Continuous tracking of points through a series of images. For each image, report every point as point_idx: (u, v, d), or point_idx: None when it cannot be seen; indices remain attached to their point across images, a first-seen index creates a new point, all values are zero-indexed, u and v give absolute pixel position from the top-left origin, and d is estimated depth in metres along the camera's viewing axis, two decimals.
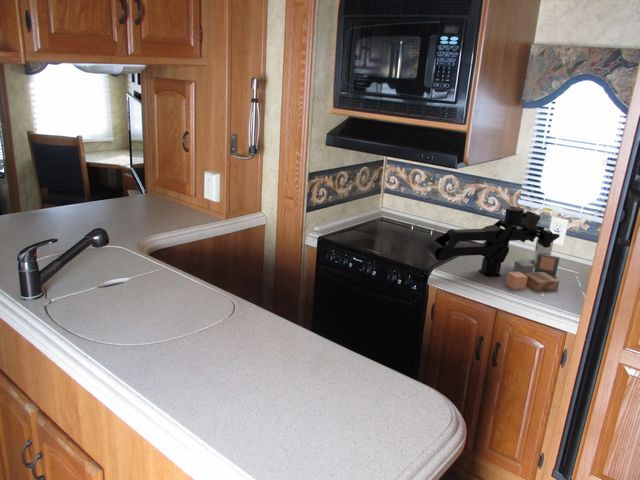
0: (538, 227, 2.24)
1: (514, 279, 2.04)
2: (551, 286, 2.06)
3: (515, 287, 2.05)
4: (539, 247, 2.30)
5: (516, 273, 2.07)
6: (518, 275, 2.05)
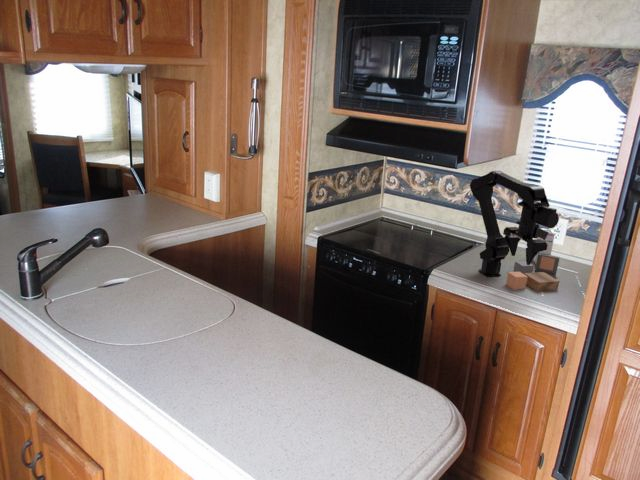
0: (515, 248, 2.08)
1: (514, 279, 2.04)
2: (551, 286, 2.06)
3: (515, 287, 2.05)
4: None
5: (516, 273, 2.07)
6: (518, 275, 2.05)
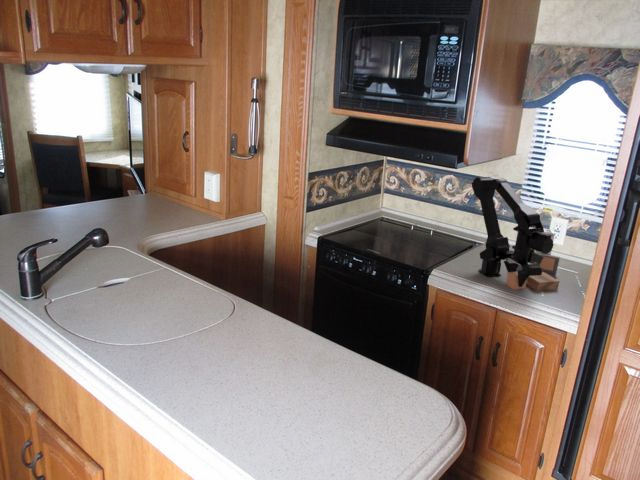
0: None
1: (514, 279, 2.04)
2: (551, 286, 2.06)
3: (515, 287, 2.05)
4: None
5: (516, 273, 2.07)
6: None
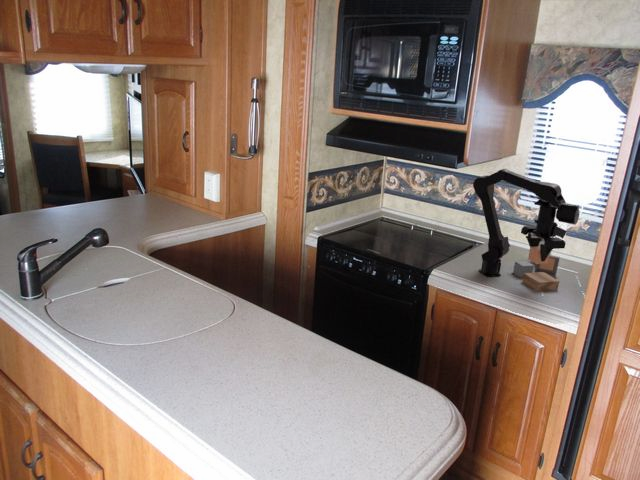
0: None
1: (536, 253, 2.02)
2: (551, 286, 2.06)
3: (537, 261, 2.03)
4: None
5: (538, 247, 2.05)
6: None
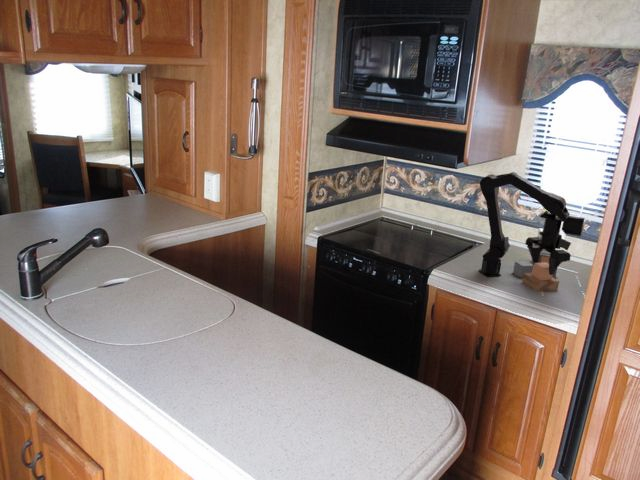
0: (537, 258, 2.11)
1: (541, 270, 2.05)
2: (550, 286, 2.06)
3: (542, 278, 2.06)
4: None
5: (542, 264, 2.08)
6: (545, 266, 2.06)
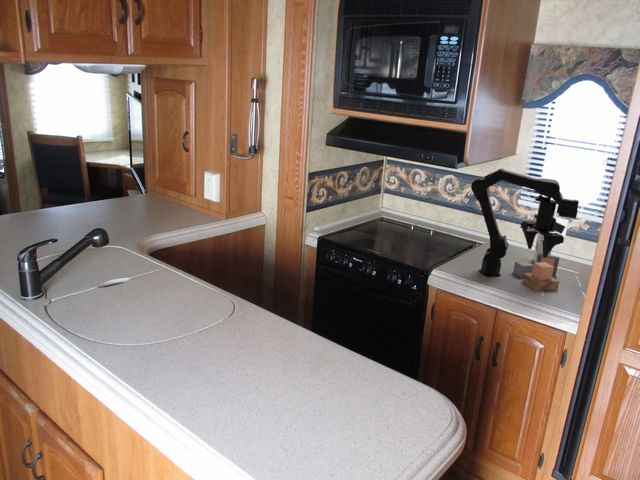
0: (532, 242, 2.13)
1: (540, 269, 2.05)
2: (550, 286, 2.06)
3: (541, 277, 2.06)
4: (539, 247, 2.30)
5: (542, 263, 2.08)
6: (544, 266, 2.06)
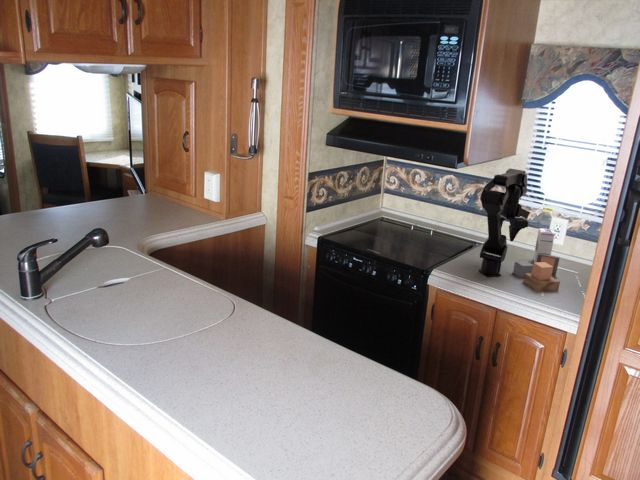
0: (500, 227, 2.28)
1: (540, 269, 2.05)
2: (551, 287, 2.06)
3: (541, 277, 2.06)
4: (539, 247, 2.30)
5: (541, 263, 2.08)
6: (544, 265, 2.06)
